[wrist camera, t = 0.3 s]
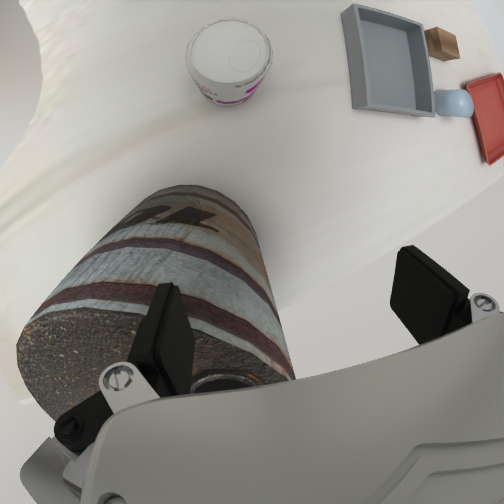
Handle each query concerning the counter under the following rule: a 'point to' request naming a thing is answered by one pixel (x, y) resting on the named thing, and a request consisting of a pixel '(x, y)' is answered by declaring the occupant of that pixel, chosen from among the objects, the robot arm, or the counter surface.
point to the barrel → (141, 294)
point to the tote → (387, 62)
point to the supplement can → (229, 60)
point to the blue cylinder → (453, 103)
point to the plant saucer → (489, 114)
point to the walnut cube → (441, 44)
